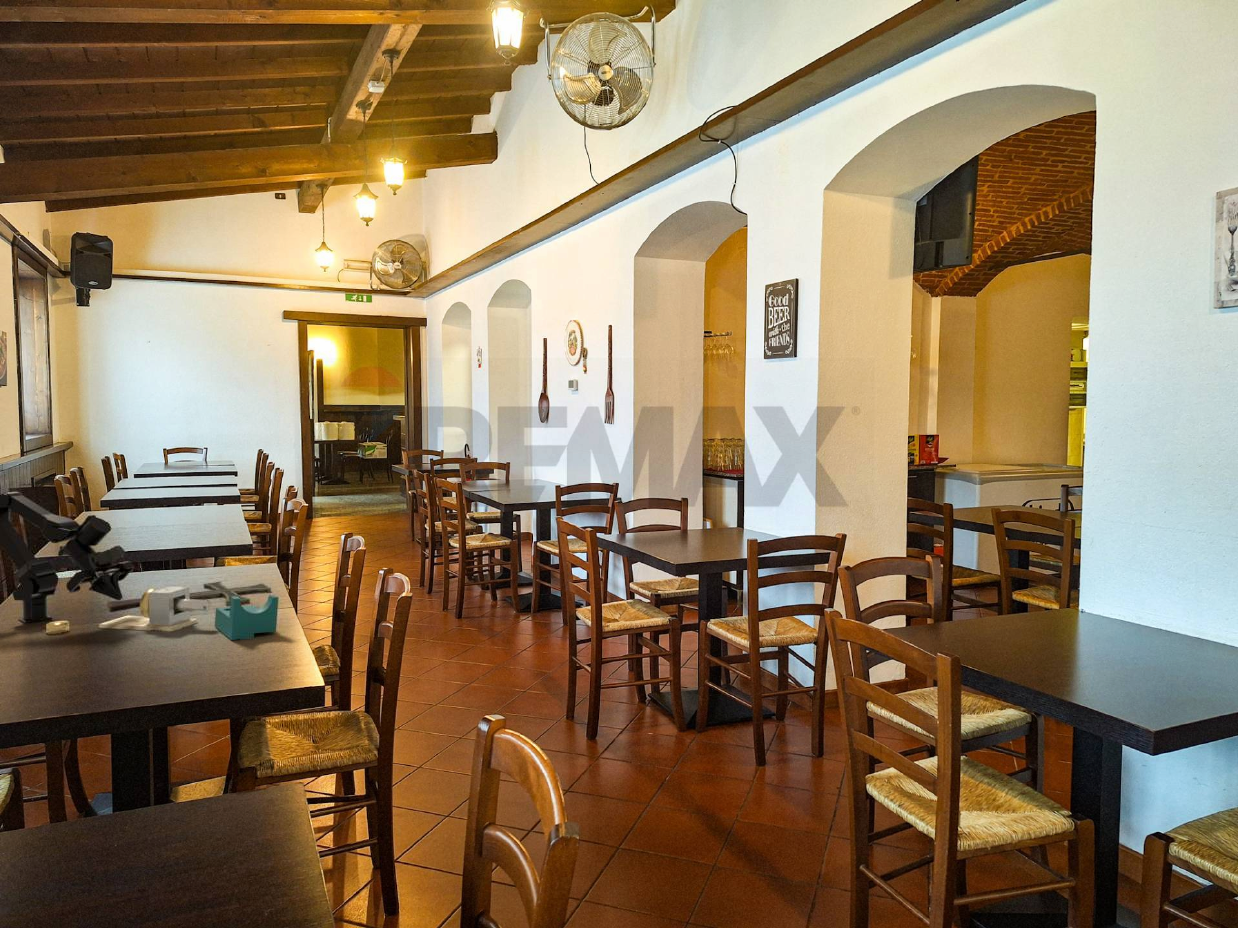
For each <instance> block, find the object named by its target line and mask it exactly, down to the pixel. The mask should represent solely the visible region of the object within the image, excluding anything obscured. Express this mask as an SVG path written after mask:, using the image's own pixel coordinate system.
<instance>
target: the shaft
mask: <svg viewBox="0 0 1238 928" xmlns="http://www.w3.org/2000/svg"><path fill="white" fill-rule="evenodd" d="M159 589H160V588H149V589H147V590H146V591H145V592H144V593H143V594H142V596H141V597H140V598H141V601H140V606H139V611H140V613H141V616H144V617H145V618H149V592H152V591H155V590H159ZM173 605H174V611H190V612H194V613H195V612H196V613H197V612H199V613H208V612H209V611H210V609H211V601H210V600H209V599H200V600H196V599H174V598H173Z"/></svg>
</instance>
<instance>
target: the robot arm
mask: <svg viewBox="0 0 1238 928" xmlns="http://www.w3.org/2000/svg"><path fill="white" fill-rule="evenodd" d="M10 511H11V512H13V513H15V514H17V515H18V516H20V517H22V518H23V519H25V520H26V521H28V522H30V523H31V524H33V525H34V526H36V527H38V529H39V530H40V533H41V535H42V536H43V537H45V538H46V540H48V541H49V542H51V543H52V544H57V543H64V542H66V543H65V544H64V545H60V546H59V550H58V553H57V556H58V557H64V556H68V557H69V558H70V560H71V561H72V562H73V563H74V564H75V566H74V568H73V569H74V570H75V573H74V574H73V575H72V577H71V578H69V580H68V581H67V582H66V590H67V591H68V592H69V593H70V594H73V593H77V592H80V590H81V585H85V584H87V583H89V586H90V587H89V588H88V590H89V592H94V593H98V594H101V595H104V596H106V597H108V598H111V599H113V600H115V601H121V600H122V599H123V594H122V591H121V587H120V584H119V582H122V581H123V580H124V579H126V577H127V576H128V575H129V574H130V573H131V572H132V571H133V570H134V569H135V565H134V563H133V562H131V561H128V560H127V561H123V562H117V561H118V560H123V559H124V556H125V555H126V551H125V549H124V548H123V547H122V546H121V545H115V546H113V547H111V548H108V549H106V550H104V551H96V550H95V549H94V548H93V547H95V546H98V545H99V543H101V542H102V540H104V538H106V537H107V535H108V534H109V533H110V532H111V530H112V526H111V525H110V523H109V522H108V521H106V520H104V519H102V518H100V517H97V516H96V515H95V514H92V515H91V514H90V515H88V516H87V517H85V519H84V521H83V522H82V523H81V524H79V523H78V522H77V520H74V519H71V518H68V517H66V516H61V515H56V514H54V513H51V511H49V510H47V509H45V508H44V507H42V506H40V505H39V504H37V503H36V502H34V501H32V500H31V499H29V498H27V497H25V496H24V495H23V493H22V492H19V491H11V492H3V493H1V494H0V546H1V547H2V549H3V550H4V551H5V553H6V555H7V556H8V558H9V559H10V560H11V562H12V563H13V565H14V566H15V567H16V568H17V570H18V572H17V581H18V583H19V585H17V587H16V588H15V589H14V591H13V592H12V597H13V600H15V601H21V602H22V616H20V617H17V618H18V620H19V621H21V622H23V623H31V622H38V621H44V620H45V621H46V620H50V619H53V616H52V615H49V613H48V597H49V596H53V595H55V593H56V590H57V586H58V584H59V583H58V582H59V579H60V578H59V576H58V574H57V573H58V571H57V570H56V569H55V568H54V566H53V565H52V563H51V562H50V561H42V562H41V561H39V560H38V559H37V558H36V556H35V555H34V554H33V552H32V551H31V549H30V548H29V547H28V545H27V544H26V542H25V541H24V539H23V538H22V537H21V536H20V534H19V533H18V531H17V530H16V528H15V527H14V526H13V524H12V523H11V522H10ZM114 562H117V563H116V565H114V564H115V563H114ZM113 566H114V567H113ZM112 567H113V568H112ZM110 568H112V569H110Z"/></svg>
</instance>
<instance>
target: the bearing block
mask: <svg viewBox="0 0 1238 928" xmlns="http://www.w3.org/2000/svg"><path fill="white" fill-rule="evenodd" d="M158 589H159V590H155V591H152V592H149V621H150V626H166V627H170V626H173V625H176V624H179V623H182V622H185V621H187V620H190V619H191V611H174V605H173V598H174V599H189V593H190V587H189V586H166V587H164V588H163V587H162V588H158Z"/></svg>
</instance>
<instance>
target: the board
mask: <svg viewBox="0 0 1238 928" xmlns="http://www.w3.org/2000/svg"><path fill="white" fill-rule="evenodd" d="M197 623H198V618H190V620H187V621H185V622H182V623H179V624H176V625H173V626H170V627H166V626H150V621H149V618H145V617H144V616H143V615H125V616H122V617H119V618H114V619H111V620H108V621H105V622H102V623H99V624H98V626H99V627H98V628H100V629H115V630H116V629H117V630H135V631H136V630H137V631H151V630H156V631H157V630H159V631H157V632H171V631H172V632H175V631H178V630H180V629H182V628H183V627H184V628H186V627H190V626H191V625H195V624H197ZM184 628H183V629H184ZM160 630H161V631H160ZM174 630H175V631H174Z"/></svg>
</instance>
